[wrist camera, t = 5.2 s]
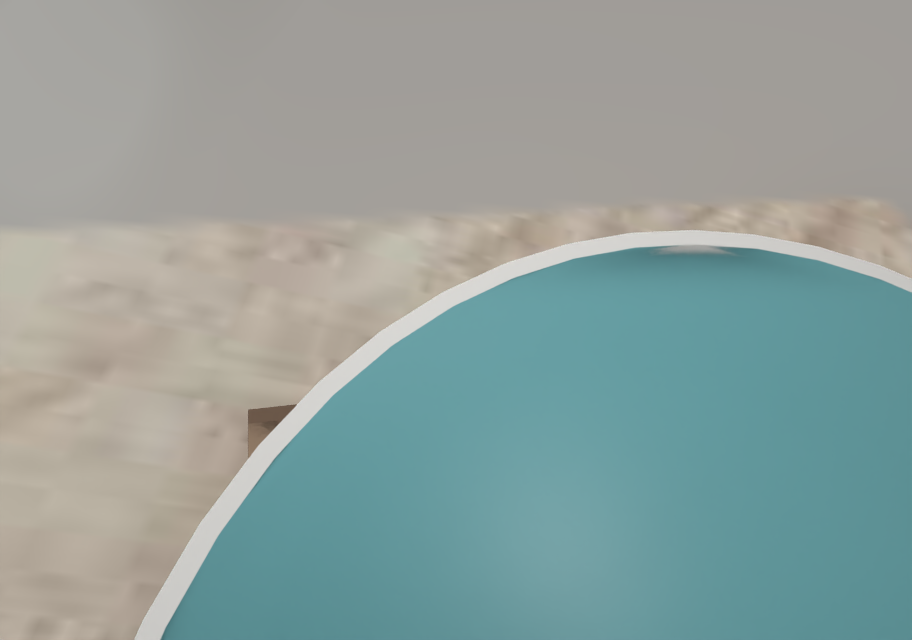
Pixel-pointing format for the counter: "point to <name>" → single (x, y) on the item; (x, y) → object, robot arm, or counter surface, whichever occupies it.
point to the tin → (587, 461)
